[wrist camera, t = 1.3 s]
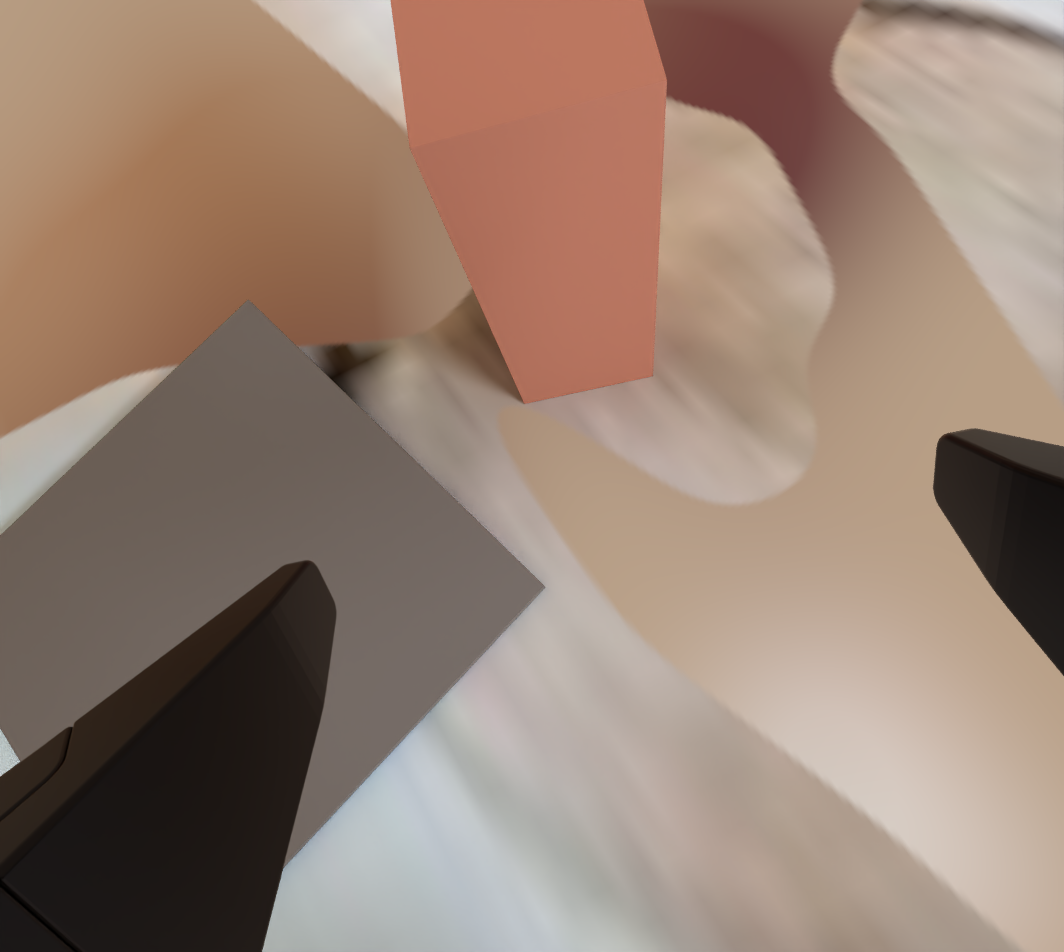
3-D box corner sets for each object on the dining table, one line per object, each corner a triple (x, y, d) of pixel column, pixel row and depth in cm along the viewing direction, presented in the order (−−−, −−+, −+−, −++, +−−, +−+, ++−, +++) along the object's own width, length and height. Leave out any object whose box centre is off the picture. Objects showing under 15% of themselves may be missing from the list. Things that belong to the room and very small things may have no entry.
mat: (545, 586, 23) (543, 585, 22) (169, 989, 21) (160, 996, 21) (253, 304, 28) (248, 299, 28) (-63, 606, 26) (-73, 605, 26)
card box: (652, 375, 24) (666, 79, 12) (524, 403, 25) (409, 147, 12) (625, 265, 26) (613, -101, 13) (505, 293, 26) (386, -33, 14)
